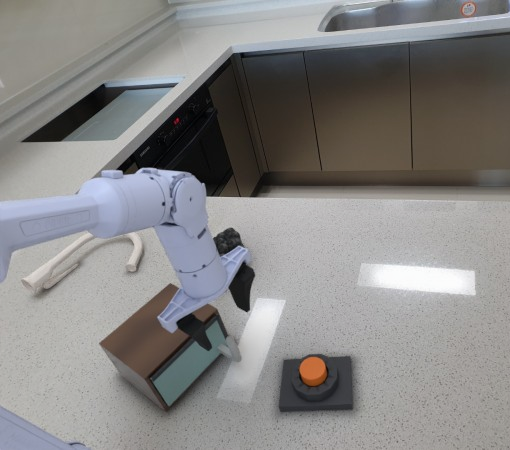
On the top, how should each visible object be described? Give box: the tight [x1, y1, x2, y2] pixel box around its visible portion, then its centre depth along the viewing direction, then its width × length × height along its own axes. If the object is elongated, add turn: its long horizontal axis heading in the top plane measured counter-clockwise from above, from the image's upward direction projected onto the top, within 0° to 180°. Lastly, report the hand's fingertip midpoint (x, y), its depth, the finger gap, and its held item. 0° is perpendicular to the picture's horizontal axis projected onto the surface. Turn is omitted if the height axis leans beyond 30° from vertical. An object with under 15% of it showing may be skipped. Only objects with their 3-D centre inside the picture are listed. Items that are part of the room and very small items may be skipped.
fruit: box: [212, 227, 246, 257], centre depth 88 cm, size 9×8×15 cm
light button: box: [300, 357, 327, 386], centre depth 64 cm, size 4×4×2 cm
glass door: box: [150, 314, 243, 406], centre depth 66 cm, size 5×13×7 cm, turn 142°
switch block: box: [278, 353, 354, 412], centre depth 65 cm, size 10×8×3 cm
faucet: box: [20, 231, 144, 294], centre depth 95 cm, size 5×18×21 cm
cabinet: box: [98, 283, 230, 412], centre depth 71 cm, size 12×14×8 cm
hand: (225, 326), depth 65 cm, fingers open, 7 cm apart
